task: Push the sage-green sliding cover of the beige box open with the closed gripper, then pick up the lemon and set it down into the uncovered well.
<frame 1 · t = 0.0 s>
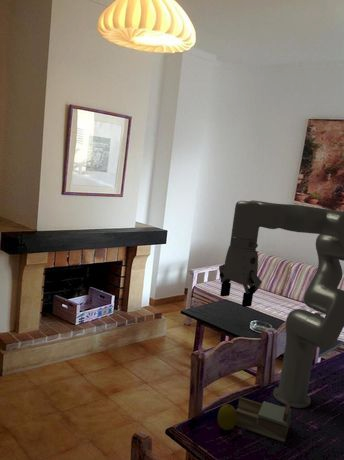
hand: (235, 300, 122), 37 cm above the table, tool pointing down, fingers open, 9 cm apart
cover: (275, 409, 124), point 6 cm above the table, slide at 0.0 cm
lemon: (225, 430, 121), on the table
beige box: (259, 425, 126), on the table
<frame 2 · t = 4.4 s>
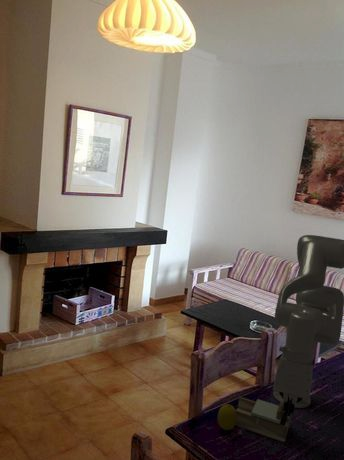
hand: (287, 413, 122), 6 cm above the table, tool pointing down, fingers closed
cover: (268, 407, 124), point 6 cm above the table, slide at 2.0 cm, touching gripper
everything else where it was.
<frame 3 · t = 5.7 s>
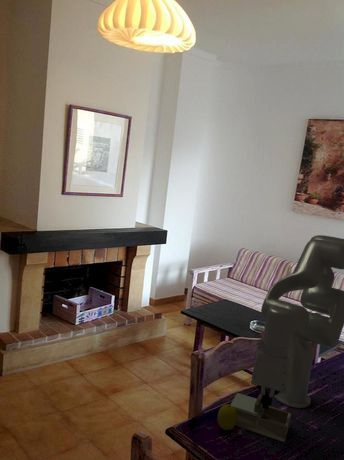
hand: (265, 406, 125), 6 cm above the table, tool pointing down, fingers closed
cover: (247, 400, 127), point 6 cm above the table, slide at 8.5 cm, touching gripper
everything else where it was.
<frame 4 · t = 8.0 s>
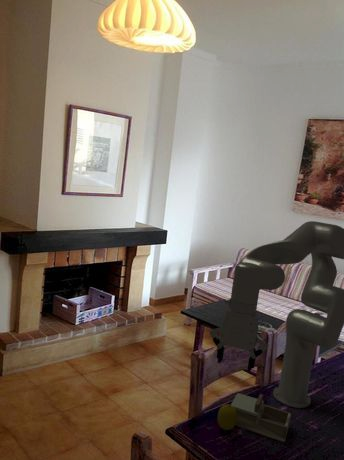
hand: (234, 365, 119), 20 cm above the table, tool pointing down, fingers open, 8 cm apart
cover: (247, 400, 127), point 6 cm above the table, slide at 8.3 cm
everything else where it was.
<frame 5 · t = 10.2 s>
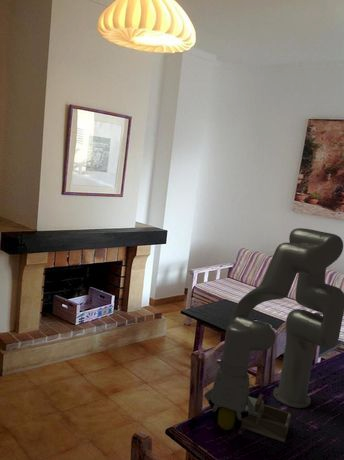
hand: (225, 425, 121), 1 cm above the table, tool pointing down, fingers closed on lemon, 5 cm apart
lemon: (225, 430, 121), on the table, touching gripper
everything else where it was.
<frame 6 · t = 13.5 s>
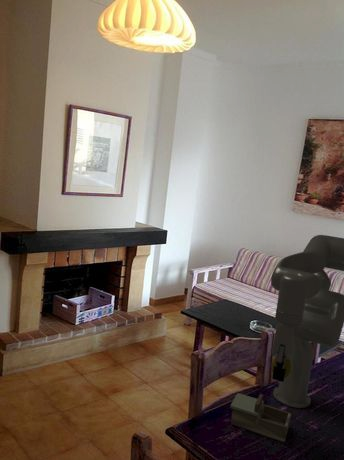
hand: (279, 375, 123), 17 cm above the table, tool pointing down, fingers closed on lemon, 5 cm apart
lemon: (279, 379, 123), point 16 cm above the table, touching gripper
everything else where it was.
when the fingers open (5 cm above the table, at t = 16.3 s): lemon drops 2 cm, resting on beige box.
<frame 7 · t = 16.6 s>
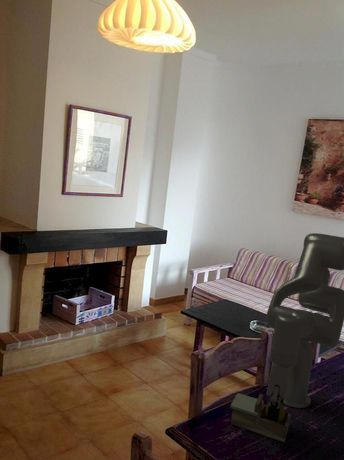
hand: (274, 412, 124), 5 cm above the table, tool pointing down, fingers open, 8 cm apart
lemon: (272, 425, 125), point 1 cm above the table, touching beige box
everything else where it was.
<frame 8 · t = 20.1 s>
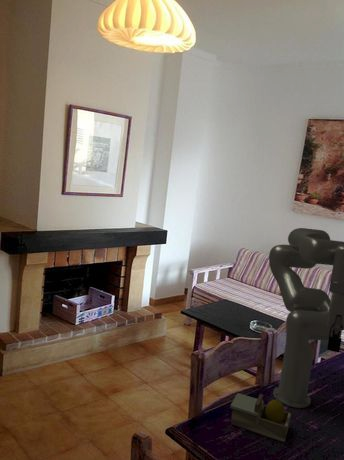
hand: (333, 345, 121), 28 cm above the table, tool pointing down, fingers open, 9 cm apart
nothing on the table moved.
at the end: cover slide at 8.3 cm; lemon 0.5 cm from the target spot on the beige box, point 1.0 cm above the beige box's base; the gripper is holding nothing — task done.
